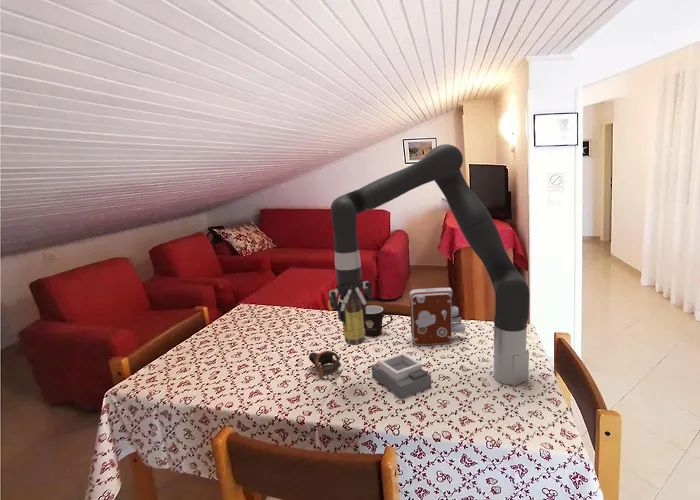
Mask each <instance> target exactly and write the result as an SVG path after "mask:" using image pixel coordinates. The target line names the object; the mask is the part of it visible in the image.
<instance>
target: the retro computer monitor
mask: <svg viewBox="0 0 700 500" xmlns="http://www.w3.org/2000/svg"><path fill="white" fill-rule="evenodd" d="M371 377H372V378H374V379H375V380H376V381H378V382H379V383H380V384H381V385H383V386H384V387H386V388H387V389H388V390H389V391H391V392H392V393H393V394H395V395H396V396H398V397H399V398H400V399H402V400H403V399H406V398H408V397H410V396H412V395H415V394H418V393H420V392H422V391H425V390H427V389H430V388H431V387H432V375H431V374H430V373H429V372H427V371H426V370H424V369H423V364H422V363H421V362H419V361H418V360H416V359H415V358H413V357H411V356H410V355H408V354H406V353H405V352H401V353H398V354H395V355H393V356H390V357H387V358H384V359H380V360H378V361H377V362H376V363H374V364H371Z"/></svg>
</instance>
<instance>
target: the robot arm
mask: <svg viewBox="0 0 700 500" xmlns="http://www.w3.org/2000/svg"><path fill="white" fill-rule="evenodd" d="M463 157H464V156H463V154H462V151H461V150H460V149H459V148H458V147H457V146H455V145H452V144H449V143H446V144H445V143H444V144H440V145H438V146H436V147H433V148H432V149H431V150H429V151H428V153H427V155H426V156H425V157H423V158H421V159H419V160H418V161H417V162H415V163H413V164H411V165H408V166H407V167H405V168H403V169H399V170H397V171H395V172H393V173H390V174H387V175H385V176H383V177H381V178H378V179H376V180H374V181H372V182H370V183H368V184H366V185H364V186H362V187H361V188H358V189H356V190H353V191H351V192H350V191H349V192H347V193H345V194H342V195H341V196H338V197H336V198H335V199H334V200H333V201H332V203H331V204H330V214H331V223H332V227H333V228H332V229H333V247H334V266H335V279H336V282H337V283H336V284H337V286H336V288H335V289H332V290H331V289H329V290H328V291H327V295H328V299H329V303H330V308H331V309H332V310H334V311H337V317H338V320H339V321H340V322H341V323H343V322H346V320H345V311H344V308H345V304H347V302H348V299H349V296H350V294H351V289H347V288H346V286H345V285H346V284H353V283H357V284H356V288H355V291H356V293H357V295H358V297H359V298H360V299H361V302H362V310H363V316H365V314H366V304H367V303H368V302H371V301H372V282H370V281H368V280H364V281H363V280H362V279H363V276H362V275H363V274H362V263H361V261H362V260H361V254H360V250H359V249H360V247H359V239H358V237H359V236H358V232H357V228H358V226H357V215H358V214H360V213H362V212H365V211H371V210H374V209H377V208H378V207H381V206H383V205H385V204H387V203H390V202H391V201H394V200H395V199H398V198H399V197H400V196H403V195H404V194H407V193H408V192H410V191H412V190H414V189H416V188H418V187H420V186H423V185H426V184H428V183H431V182H435V183H436V185H437V186H438V188H439V190H440V191H441V193H442V194H443V197H445V199H446V202H447V203H448V207H449V208H450V210H451V213H452V215H453V217H454V219H455V221H456V223H457V225H458V228H459V230H460V231H461V233H462V235H463V237H464V238H465V240H466V242H467V243H468V245H469V247H470V248H471V249H472V250H473V252H474V253H475V255H476V256H477V257H478V258H479V259H480V261H481V262H482V264H483V265H484V267H485V270H486V271H487V273H488V274H487V275H488V276H489V279H490V281H491V285H492V287H493V288H492V289H493V292H494V295H495V301H494V302H495V306H494V307H495V308H494V310H495V313H494V316H493V319H494V321H493V377H494V380H496V381H497V382H498V383H502V384H504V385H510V386H512V387H517V386H519V385H521V384H523V383H525V382H527V381H529V373H530V372H529V371H530V370H529V368H530V351H528V350H527V335H528V333H527V332H528V330H527V329H528V328H527V327H528V321H529V314H530V312H529V311H530V288H529V284H528V283H527V281H526V280H525V277H523V276H522V274H521V273H520V272H519V270H518V269H517V268H516V266H515V264H514V263H513V261H512V260H511V259H510V257H509V255H508V253H507V252H506V248H505V246H504V243H503V239H502V238H501V235H500V232H499V230H498V227H497V225H496V223H495V222H494V221H495V220H494V219H493V218H492V216H491V214H490V212H489V210H488V208H487V207H486V206H485V205H484V203H483V202H482V201H481V199H480V198H479V197H478V196H477V194H475V192H474V191H472V189H471V188H470V186H469V185H468V183H467V181H466V179H465V177H464V175H463V173H462V171H461V168H462V166H463V162H464V158H463ZM362 289H363V293H362ZM338 294H339V296H338ZM337 297H338V299H337ZM343 298H344V300H343Z"/></svg>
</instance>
